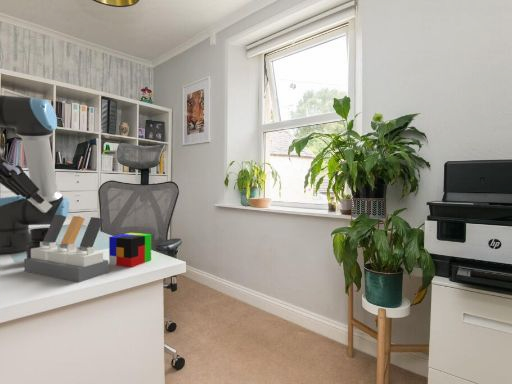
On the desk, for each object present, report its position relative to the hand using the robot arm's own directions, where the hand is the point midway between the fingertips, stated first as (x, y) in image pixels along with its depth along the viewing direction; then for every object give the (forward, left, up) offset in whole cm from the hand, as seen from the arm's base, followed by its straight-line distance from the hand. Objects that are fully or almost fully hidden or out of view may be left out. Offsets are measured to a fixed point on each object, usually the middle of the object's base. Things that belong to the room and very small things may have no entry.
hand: (47, 209), depth 86 cm
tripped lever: (-6, +1, -13) cm, 14 cm away
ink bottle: (-14, -18, -21) cm, 31 cm away
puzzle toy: (-21, +14, -21) cm, 33 cm away
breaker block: (-6, +1, -21) cm, 22 cm away
